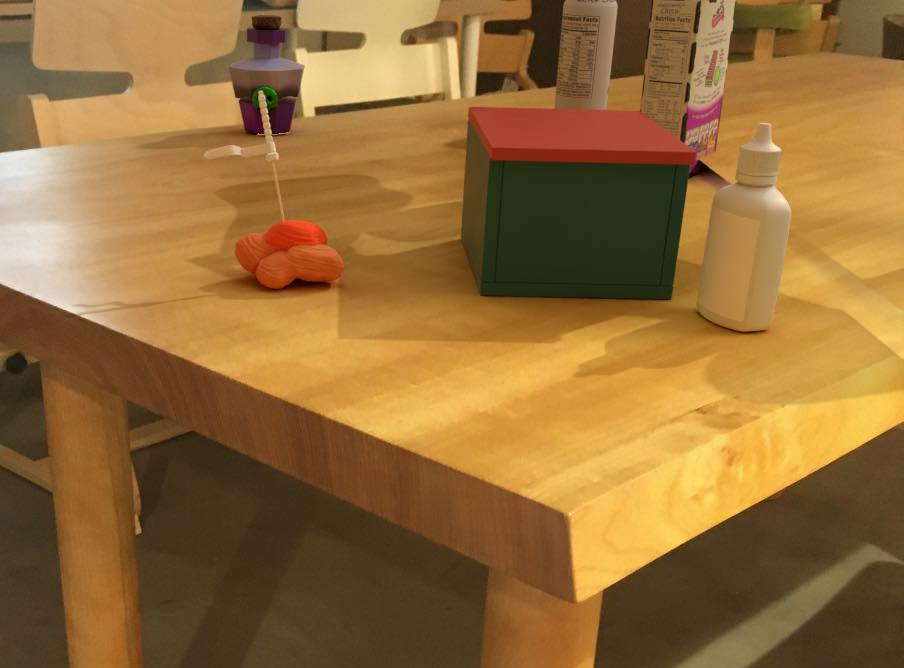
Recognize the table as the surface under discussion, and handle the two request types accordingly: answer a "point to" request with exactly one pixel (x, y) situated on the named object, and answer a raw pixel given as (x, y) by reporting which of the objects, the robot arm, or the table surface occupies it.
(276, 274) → the peanut cluster ornament
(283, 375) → the table surface
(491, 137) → the lid
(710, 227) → the eye dropper bottle
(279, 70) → the potion bottle
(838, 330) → the table surface
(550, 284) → the open storage box
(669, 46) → the candy bar box
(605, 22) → the energy drink can
